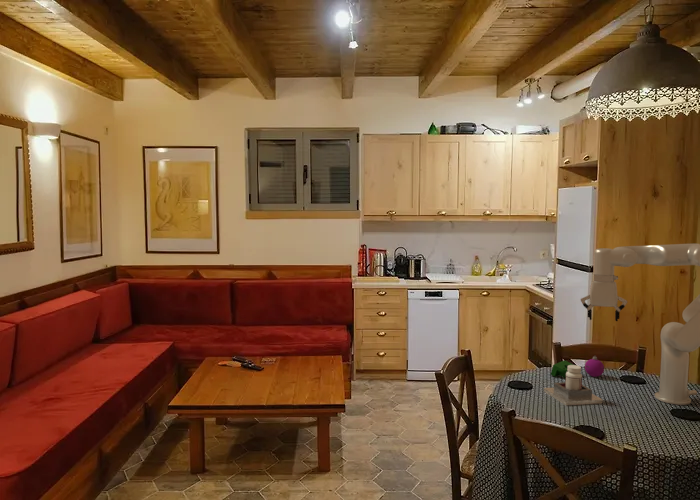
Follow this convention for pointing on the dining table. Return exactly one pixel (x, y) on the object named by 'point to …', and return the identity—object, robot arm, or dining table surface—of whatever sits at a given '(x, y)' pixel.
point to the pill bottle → (573, 378)
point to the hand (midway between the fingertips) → (603, 319)
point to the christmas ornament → (594, 367)
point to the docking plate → (572, 395)
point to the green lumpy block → (560, 369)
